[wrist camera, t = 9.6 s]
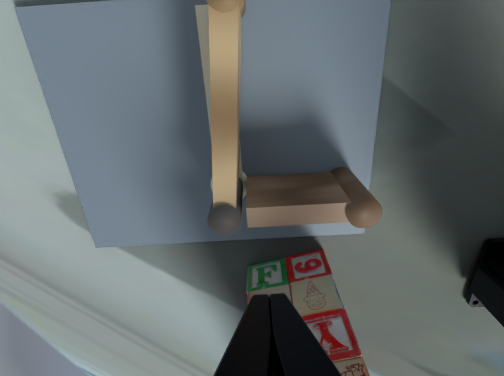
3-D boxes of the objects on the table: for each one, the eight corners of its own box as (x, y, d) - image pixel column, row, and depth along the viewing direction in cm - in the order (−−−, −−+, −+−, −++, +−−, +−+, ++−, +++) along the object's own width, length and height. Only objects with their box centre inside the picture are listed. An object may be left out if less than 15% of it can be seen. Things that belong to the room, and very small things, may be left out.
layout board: (389, -18, 16) (394, -21, 15) (362, 230, 22) (364, 234, 22) (19, 8, 16) (12, 7, 16) (98, 244, 22) (95, 248, 22)
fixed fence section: (354, 166, 19) (384, 197, 15) (352, 191, 20) (379, 227, 16) (246, 172, 19) (245, 205, 15) (248, 196, 20) (248, 234, 16)
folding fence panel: (242, 198, 20) (240, 236, 16) (216, 197, 20) (207, 235, 16) (247, -12, 15) (246, -37, 11) (212, -14, 15) (198, -39, 11)
